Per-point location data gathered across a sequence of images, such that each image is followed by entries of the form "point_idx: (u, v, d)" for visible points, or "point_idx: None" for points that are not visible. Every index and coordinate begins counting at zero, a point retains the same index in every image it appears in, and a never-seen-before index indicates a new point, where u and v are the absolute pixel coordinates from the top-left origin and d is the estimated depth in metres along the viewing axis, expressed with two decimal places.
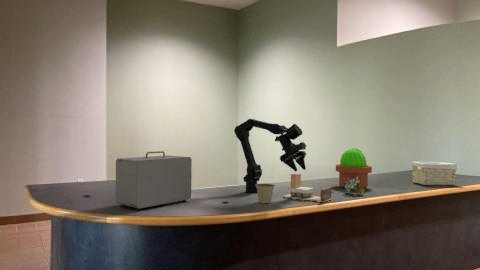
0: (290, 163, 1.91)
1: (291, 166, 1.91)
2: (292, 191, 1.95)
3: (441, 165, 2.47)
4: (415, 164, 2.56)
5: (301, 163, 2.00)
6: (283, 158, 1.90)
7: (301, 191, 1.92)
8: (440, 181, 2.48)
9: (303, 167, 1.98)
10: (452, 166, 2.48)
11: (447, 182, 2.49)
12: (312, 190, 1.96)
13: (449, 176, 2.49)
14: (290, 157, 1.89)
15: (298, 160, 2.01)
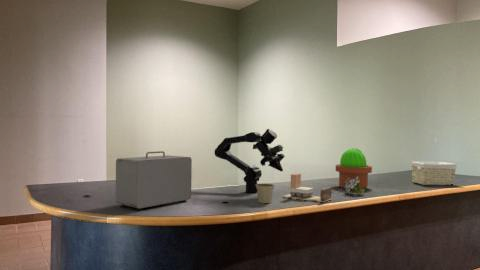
0: (275, 165, 2.03)
1: (276, 167, 2.03)
2: (292, 191, 1.95)
3: (441, 165, 2.48)
4: (415, 164, 2.57)
5: None
6: (263, 161, 1.98)
7: (301, 191, 1.92)
8: (440, 181, 2.49)
9: None
10: (452, 166, 2.48)
11: (447, 182, 2.49)
12: (312, 190, 1.96)
13: (449, 176, 2.49)
14: (274, 159, 2.01)
15: None
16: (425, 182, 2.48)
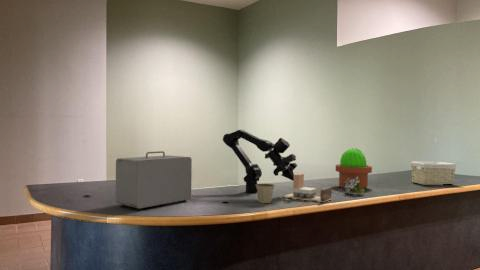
0: (288, 175, 1.99)
1: (289, 177, 1.99)
2: (295, 191, 1.94)
3: (441, 165, 2.48)
4: (414, 164, 2.57)
5: None
6: (276, 172, 1.94)
7: (304, 191, 1.91)
8: (439, 181, 2.49)
9: (293, 179, 1.99)
10: (452, 166, 2.49)
11: (446, 182, 2.50)
12: (315, 190, 1.95)
13: (448, 176, 2.50)
14: (287, 168, 1.97)
15: None
16: (425, 182, 2.48)
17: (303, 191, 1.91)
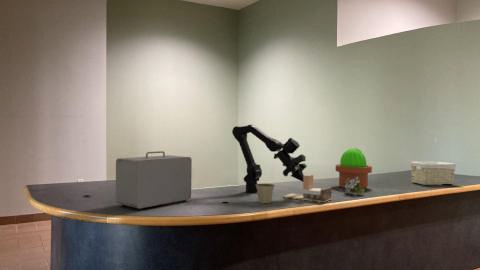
0: (297, 175, 1.96)
1: (299, 178, 1.96)
2: (305, 192, 1.91)
3: (441, 165, 2.48)
4: (414, 164, 2.57)
5: None
6: (286, 172, 1.91)
7: (314, 192, 1.88)
8: (439, 181, 2.49)
9: None
10: (451, 166, 2.50)
11: (446, 182, 2.50)
12: None
13: (448, 176, 2.50)
14: (297, 169, 1.94)
15: None
16: (426, 182, 2.48)
17: (313, 192, 1.88)
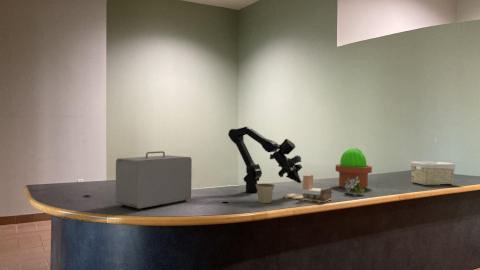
0: (293, 176, 1.97)
1: (294, 179, 1.97)
2: (304, 192, 1.91)
3: (441, 165, 2.48)
4: (414, 164, 2.56)
5: None
6: (282, 173, 1.92)
7: (314, 192, 1.88)
8: (439, 181, 2.50)
9: None
10: (451, 166, 2.50)
11: (446, 182, 2.50)
12: None
13: (448, 176, 2.51)
14: (292, 170, 1.95)
15: None
16: (426, 182, 2.48)
17: (313, 192, 1.88)
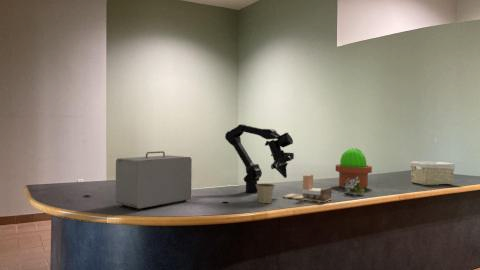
0: (282, 169, 2.01)
1: (283, 172, 2.01)
2: (304, 192, 1.91)
3: (441, 165, 2.49)
4: (414, 164, 2.56)
5: None
6: (284, 160, 1.95)
7: (314, 192, 1.88)
8: (439, 181, 2.50)
9: None
10: (451, 166, 2.50)
11: (446, 182, 2.51)
12: None
13: (448, 176, 2.51)
14: (287, 163, 2.01)
15: None
16: (426, 182, 2.48)
17: (313, 192, 1.88)
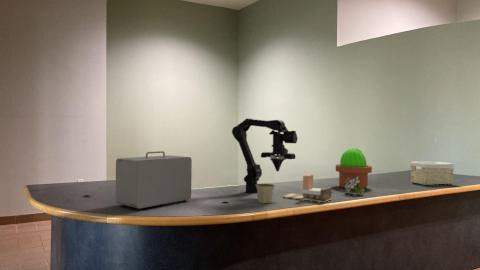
0: (279, 162, 2.04)
1: (279, 165, 2.04)
2: (304, 192, 1.91)
3: (441, 165, 2.49)
4: (414, 164, 2.56)
5: (276, 163, 2.05)
6: (292, 157, 1.99)
7: (314, 192, 1.88)
8: (439, 181, 2.50)
9: None
10: (451, 166, 2.51)
11: (446, 181, 2.51)
12: None
13: (447, 176, 2.51)
14: (285, 159, 2.05)
15: (275, 160, 2.04)
16: (426, 182, 2.48)
17: (313, 192, 1.88)
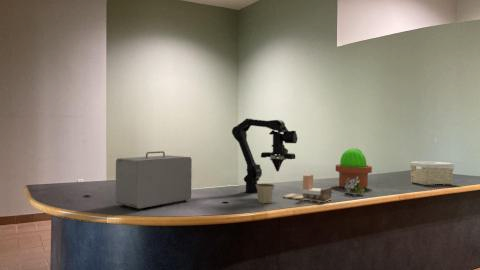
0: (279, 162, 2.04)
1: (279, 165, 2.04)
2: (304, 192, 1.91)
3: (440, 165, 2.49)
4: (414, 164, 2.56)
5: (276, 163, 2.05)
6: (292, 157, 1.99)
7: (314, 192, 1.88)
8: (439, 181, 2.50)
9: None
10: (450, 166, 2.51)
11: (445, 181, 2.51)
12: None
13: (447, 175, 2.52)
14: (285, 159, 2.05)
15: (275, 160, 2.04)
16: (426, 182, 2.48)
17: (313, 192, 1.88)
